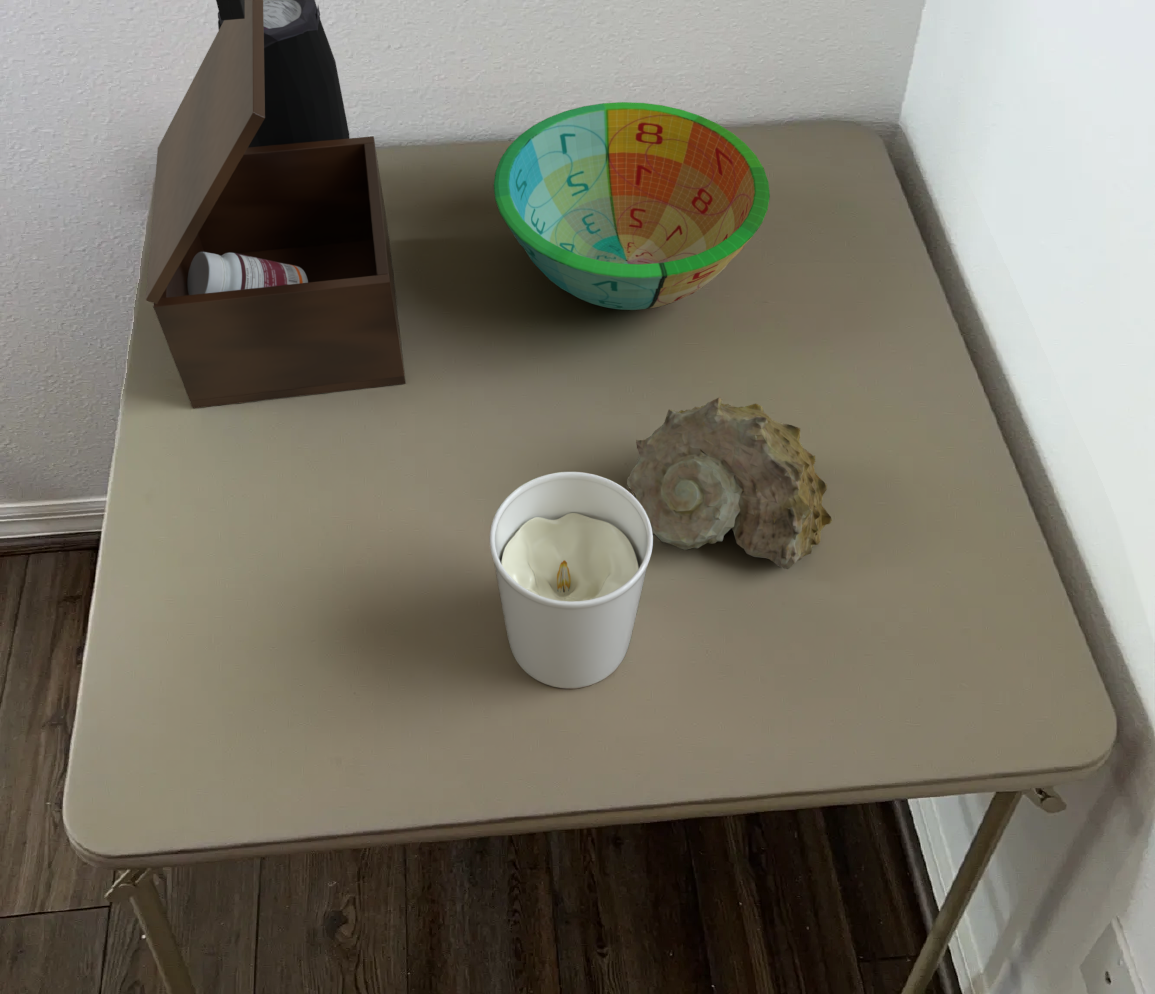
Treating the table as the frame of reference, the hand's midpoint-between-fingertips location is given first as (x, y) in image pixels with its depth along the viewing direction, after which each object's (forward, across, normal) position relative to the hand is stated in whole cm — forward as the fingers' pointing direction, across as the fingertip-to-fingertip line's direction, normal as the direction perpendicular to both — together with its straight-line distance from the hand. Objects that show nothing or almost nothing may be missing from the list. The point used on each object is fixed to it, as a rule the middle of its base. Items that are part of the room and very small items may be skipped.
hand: (232, 8), depth 73 cm
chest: (+28, -1, 0) cm, 28 cm away
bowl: (+28, +28, +1) cm, 39 cm away
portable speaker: (+28, +1, +15) cm, 32 cm away
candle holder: (+28, +16, -34) cm, 47 cm away
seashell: (+28, +30, -26) cm, 48 cm away
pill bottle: (+25, 0, 0) cm, 25 cm away
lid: (+9, -4, 0) cm, 10 cm away
